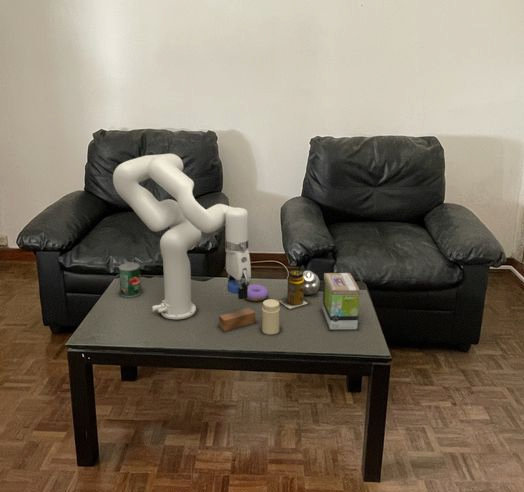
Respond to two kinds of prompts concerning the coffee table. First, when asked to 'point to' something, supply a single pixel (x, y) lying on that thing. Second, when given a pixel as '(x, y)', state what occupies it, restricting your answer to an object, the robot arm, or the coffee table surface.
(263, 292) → the donut
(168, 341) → the coffee table surface
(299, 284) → the condiment
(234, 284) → the lid
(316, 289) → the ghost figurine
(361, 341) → the coffee table surface
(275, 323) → the jar
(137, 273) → the canned tomato
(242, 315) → the block
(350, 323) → the tea box
